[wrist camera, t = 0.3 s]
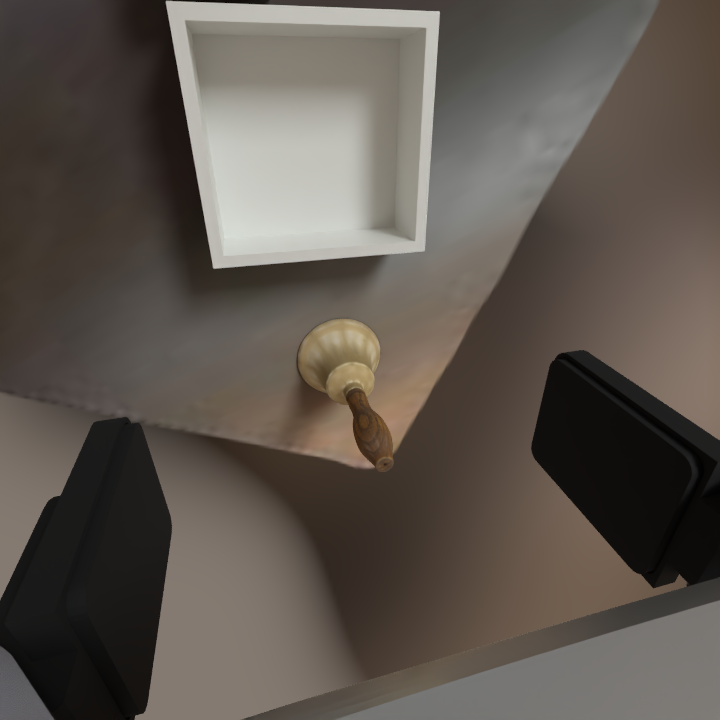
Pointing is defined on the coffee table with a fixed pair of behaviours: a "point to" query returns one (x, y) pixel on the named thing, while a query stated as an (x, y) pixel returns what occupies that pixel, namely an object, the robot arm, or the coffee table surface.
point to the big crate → (308, 127)
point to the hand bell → (348, 380)
